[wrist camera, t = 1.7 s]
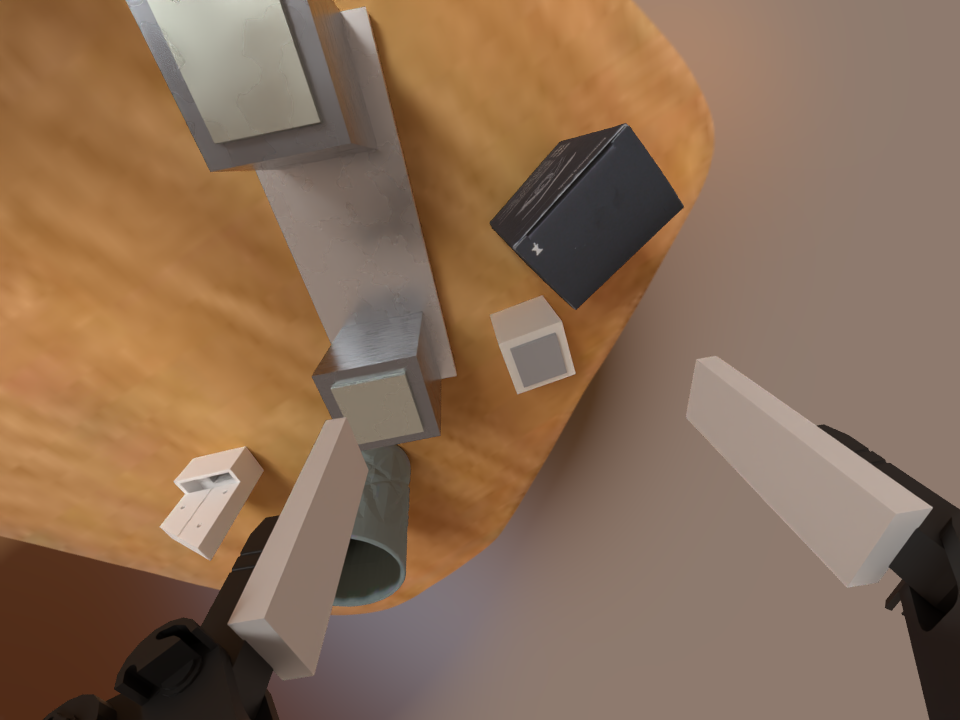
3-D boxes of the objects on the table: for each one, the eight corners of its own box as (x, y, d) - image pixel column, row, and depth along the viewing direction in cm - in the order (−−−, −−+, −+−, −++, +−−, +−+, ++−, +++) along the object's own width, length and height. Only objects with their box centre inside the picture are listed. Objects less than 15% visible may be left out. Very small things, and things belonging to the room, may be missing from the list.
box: (533, 269, 30) (574, 317, 21) (486, 222, 28) (507, 251, 18) (607, 193, 28) (691, 209, 18) (561, 135, 25) (630, 119, 16)
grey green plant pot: (421, 492, 42) (413, 600, 32) (335, 501, 41) (298, 614, 31) (408, 426, 37) (394, 529, 27) (310, 435, 37) (257, 544, 26)
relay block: (489, 314, 32) (499, 346, 26) (542, 295, 31) (563, 323, 26) (506, 359, 34) (518, 397, 29) (555, 341, 34) (577, 376, 28)
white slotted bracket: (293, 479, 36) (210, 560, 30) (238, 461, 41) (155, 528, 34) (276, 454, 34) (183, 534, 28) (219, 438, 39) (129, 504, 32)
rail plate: (208, 46, 21) (63, -27, 13) (368, 13, 21) (321, -81, 13) (356, 390, 34) (328, 461, 26) (456, 370, 34) (460, 435, 26)
